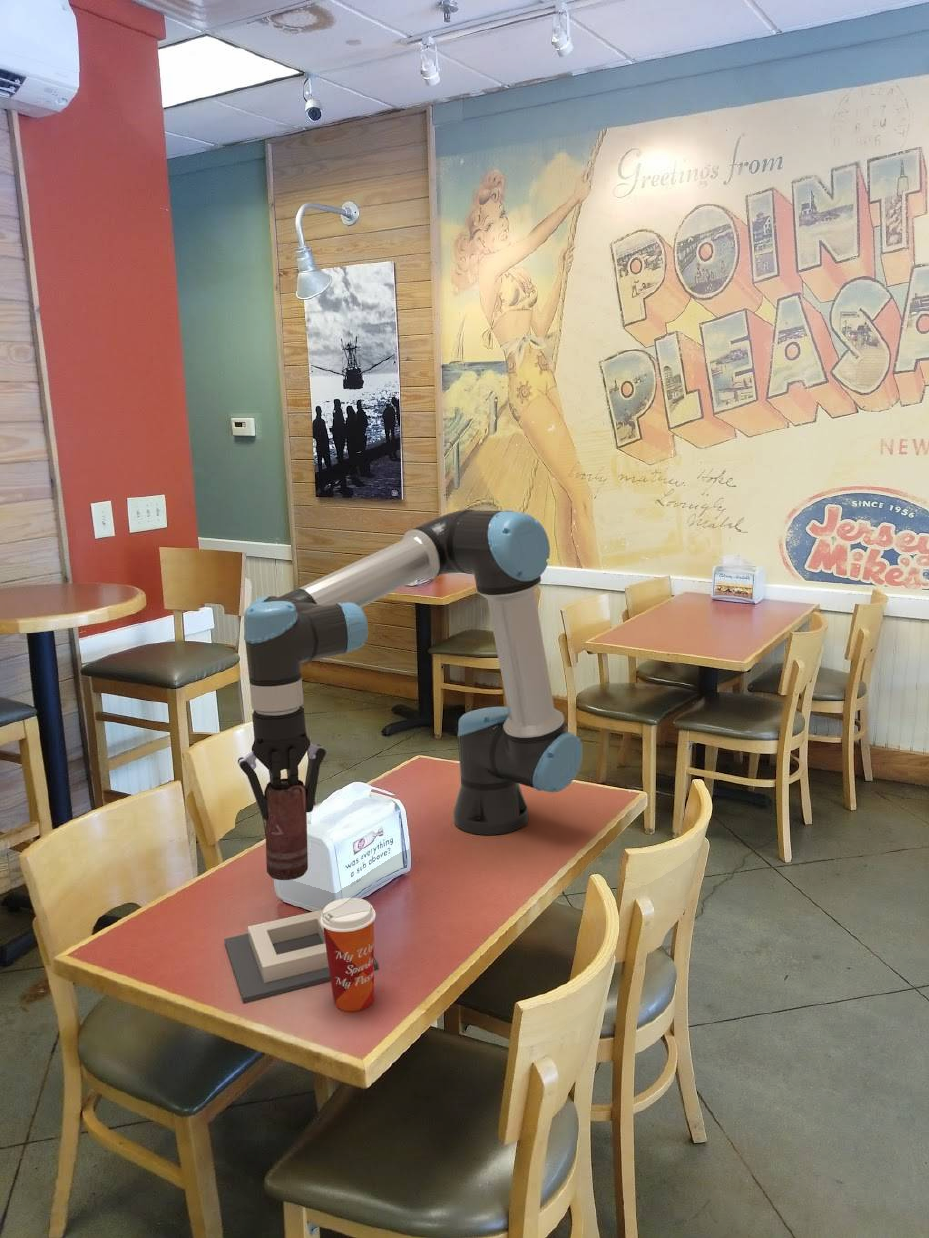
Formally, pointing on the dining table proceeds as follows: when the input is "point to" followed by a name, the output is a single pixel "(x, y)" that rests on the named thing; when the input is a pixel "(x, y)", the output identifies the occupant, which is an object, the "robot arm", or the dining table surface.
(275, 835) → the can
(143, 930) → the dining table surface
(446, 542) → the robot arm
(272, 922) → the holder
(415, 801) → the dining table surface
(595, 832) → the dining table surface
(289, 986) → the mat
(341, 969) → the paper cup
